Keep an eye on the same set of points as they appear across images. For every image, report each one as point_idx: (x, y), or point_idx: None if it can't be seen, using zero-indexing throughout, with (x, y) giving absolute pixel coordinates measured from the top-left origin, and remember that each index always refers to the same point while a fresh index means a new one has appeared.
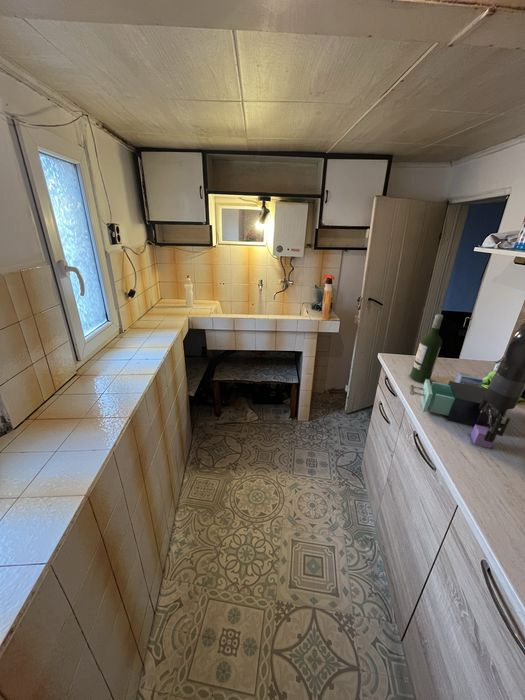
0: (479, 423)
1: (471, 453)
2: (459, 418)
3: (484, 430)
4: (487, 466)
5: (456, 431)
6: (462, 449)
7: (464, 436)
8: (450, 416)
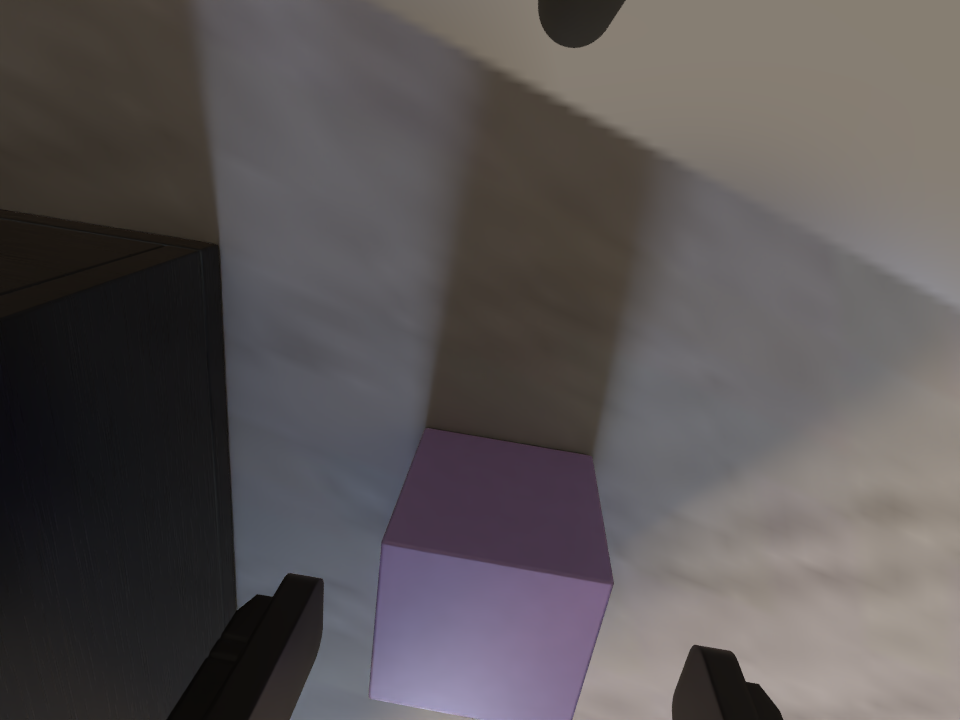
0: (314, 637)
1: None
2: (201, 645)
3: (485, 657)
4: (900, 601)
5: None
6: None
7: None
8: None
